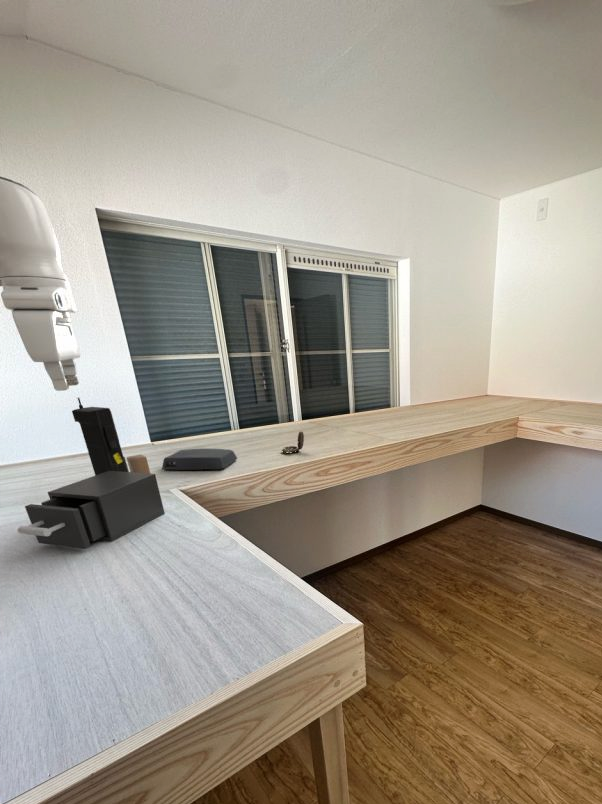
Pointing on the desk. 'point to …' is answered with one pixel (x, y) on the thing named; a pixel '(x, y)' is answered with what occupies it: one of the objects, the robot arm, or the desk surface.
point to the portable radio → (100, 439)
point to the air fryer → (119, 499)
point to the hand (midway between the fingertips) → (68, 387)
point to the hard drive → (199, 459)
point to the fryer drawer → (65, 522)
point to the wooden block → (138, 464)
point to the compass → (294, 448)
